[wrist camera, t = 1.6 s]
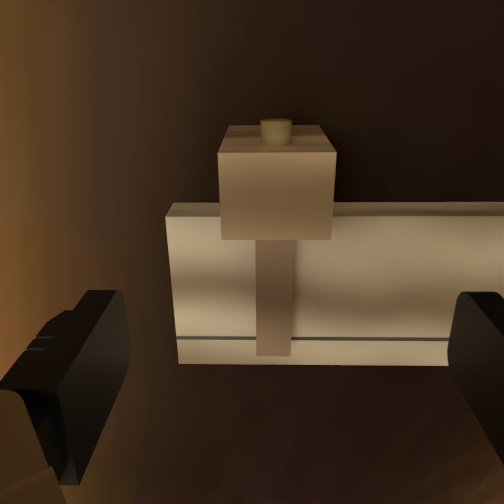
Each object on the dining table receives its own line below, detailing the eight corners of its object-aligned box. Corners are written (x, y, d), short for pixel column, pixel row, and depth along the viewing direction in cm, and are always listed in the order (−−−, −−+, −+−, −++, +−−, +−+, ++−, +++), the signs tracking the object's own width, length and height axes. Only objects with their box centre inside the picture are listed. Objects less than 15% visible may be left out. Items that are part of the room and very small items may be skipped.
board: (173, 202, 28) (165, 217, 25) (649, 201, 27) (685, 216, 25) (185, 340, 32) (178, 364, 30) (598, 343, 31) (625, 367, 29)
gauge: (228, 107, 25) (216, 128, 19) (319, 106, 25) (338, 127, 19) (235, 315, 31) (227, 386, 25) (309, 315, 31) (321, 387, 25)
